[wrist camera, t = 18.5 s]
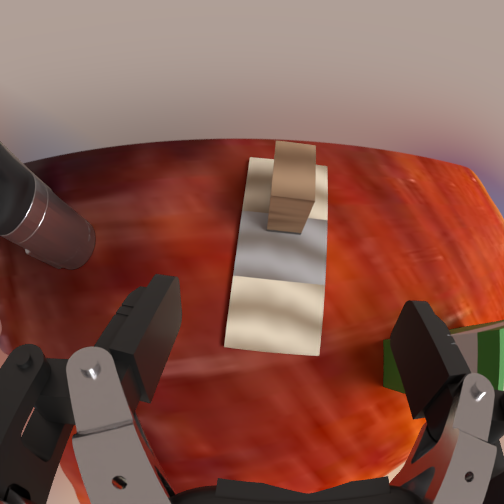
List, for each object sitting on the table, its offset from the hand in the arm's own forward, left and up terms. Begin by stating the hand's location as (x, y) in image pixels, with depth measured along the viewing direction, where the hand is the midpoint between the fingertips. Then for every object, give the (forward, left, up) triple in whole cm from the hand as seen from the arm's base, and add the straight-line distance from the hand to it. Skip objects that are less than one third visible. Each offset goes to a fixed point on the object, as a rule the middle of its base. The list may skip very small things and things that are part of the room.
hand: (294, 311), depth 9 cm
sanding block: (+10, +15, -29) cm, 35 cm away
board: (+7, +10, -31) cm, 33 cm away
